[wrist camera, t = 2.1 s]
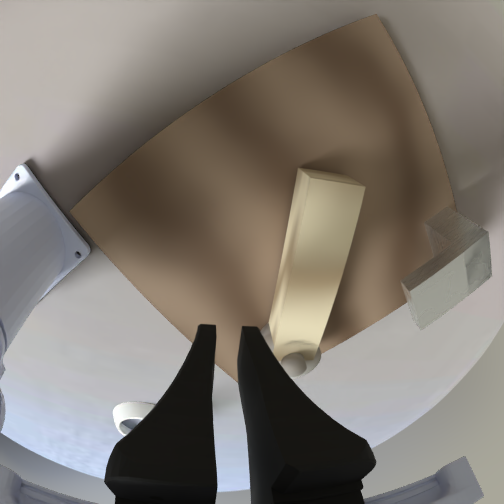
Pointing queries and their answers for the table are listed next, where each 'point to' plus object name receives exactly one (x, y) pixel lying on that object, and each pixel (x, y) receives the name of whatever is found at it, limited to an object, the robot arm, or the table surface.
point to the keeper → (448, 267)
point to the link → (311, 266)
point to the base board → (276, 189)
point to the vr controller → (130, 413)
